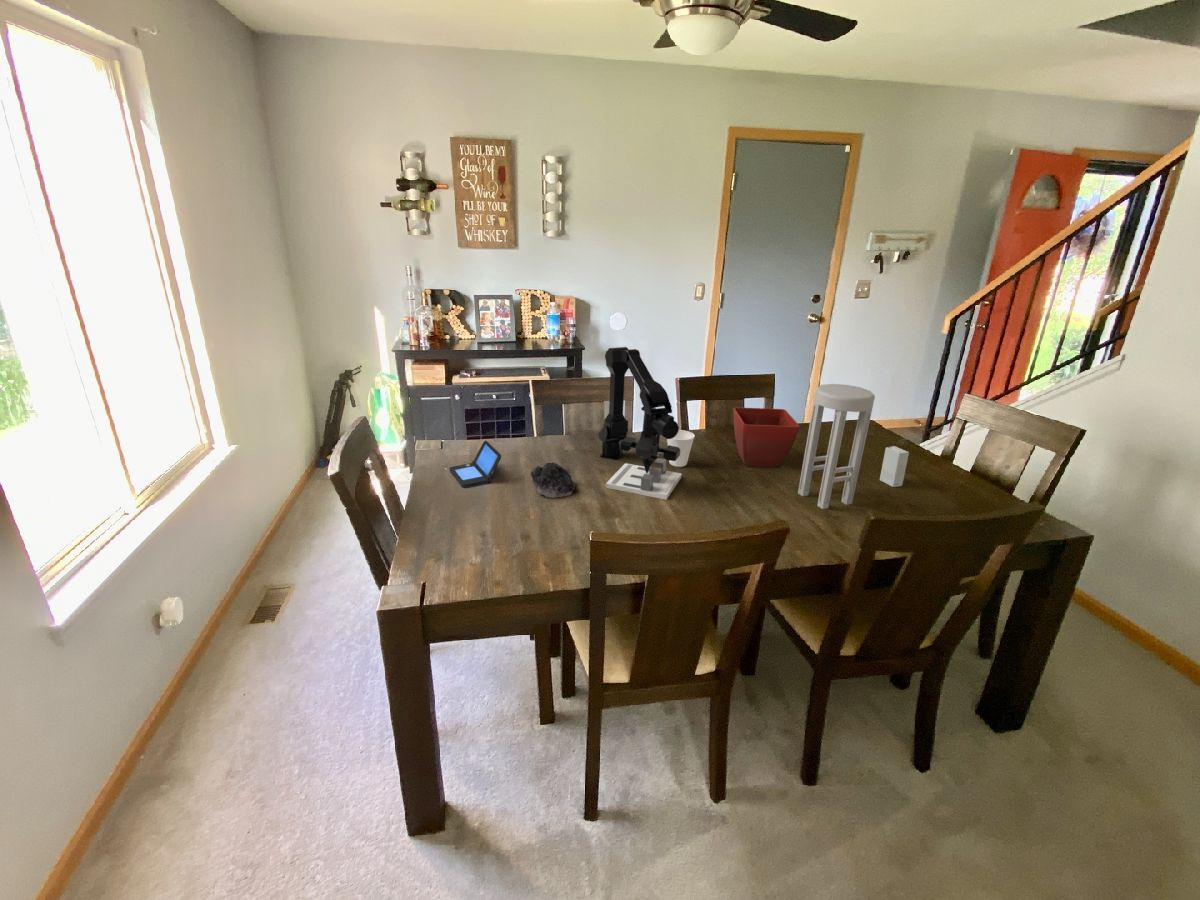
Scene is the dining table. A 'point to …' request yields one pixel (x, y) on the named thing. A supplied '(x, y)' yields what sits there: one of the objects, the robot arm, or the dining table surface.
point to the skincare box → (894, 466)
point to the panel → (631, 481)
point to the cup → (682, 447)
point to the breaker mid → (655, 473)
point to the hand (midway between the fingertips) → (647, 472)
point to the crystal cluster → (552, 480)
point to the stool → (836, 439)
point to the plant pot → (764, 435)
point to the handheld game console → (478, 467)
